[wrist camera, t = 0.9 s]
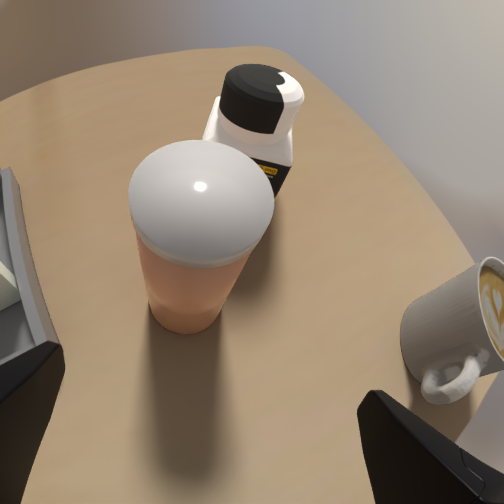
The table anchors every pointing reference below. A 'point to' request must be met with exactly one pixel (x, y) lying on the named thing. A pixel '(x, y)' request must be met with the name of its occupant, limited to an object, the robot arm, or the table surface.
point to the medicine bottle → (258, 117)
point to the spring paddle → (8, 288)
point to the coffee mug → (456, 333)
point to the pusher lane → (20, 279)
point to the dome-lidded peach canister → (196, 227)
